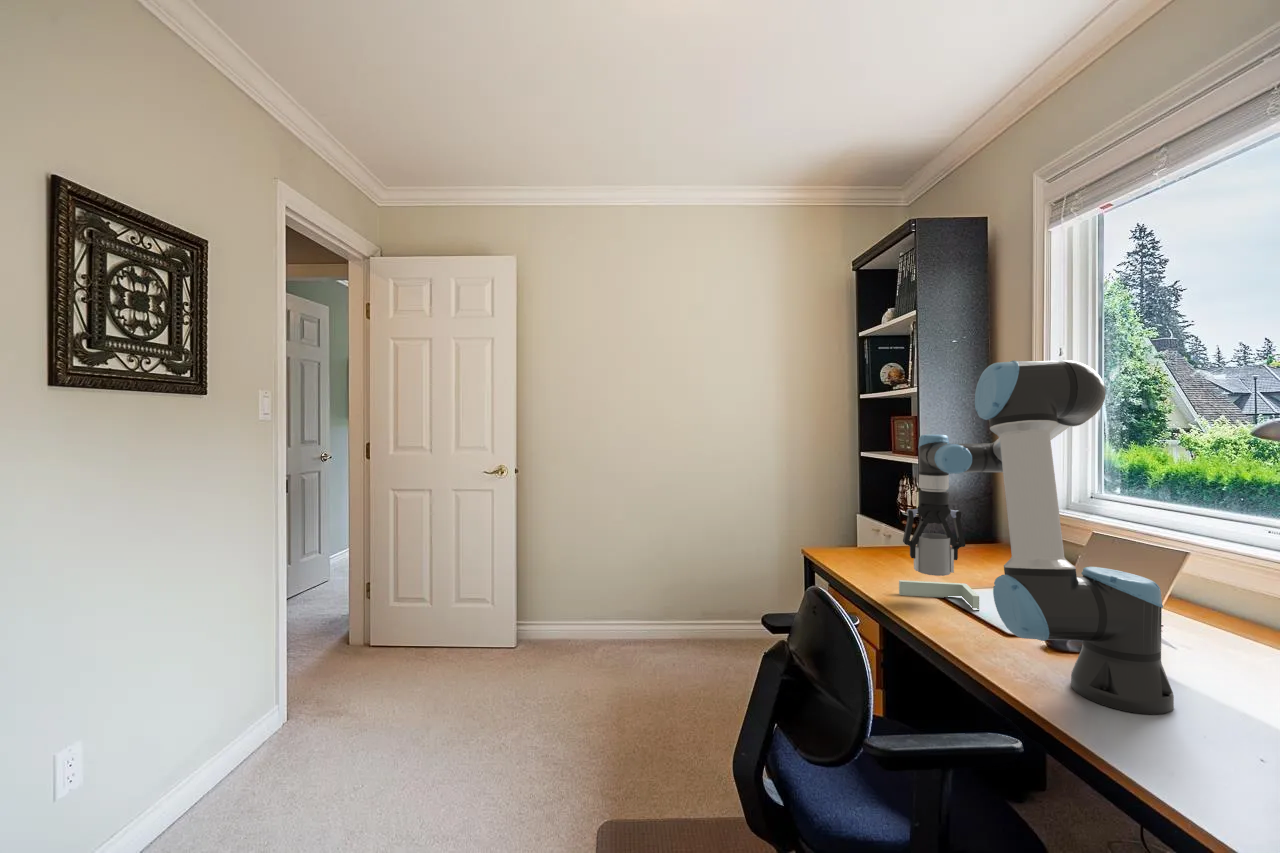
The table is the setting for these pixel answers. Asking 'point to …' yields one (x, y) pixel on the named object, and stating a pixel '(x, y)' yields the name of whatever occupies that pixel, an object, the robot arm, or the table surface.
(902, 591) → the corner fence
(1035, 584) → the robot arm
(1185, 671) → the table surface
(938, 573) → the cup
